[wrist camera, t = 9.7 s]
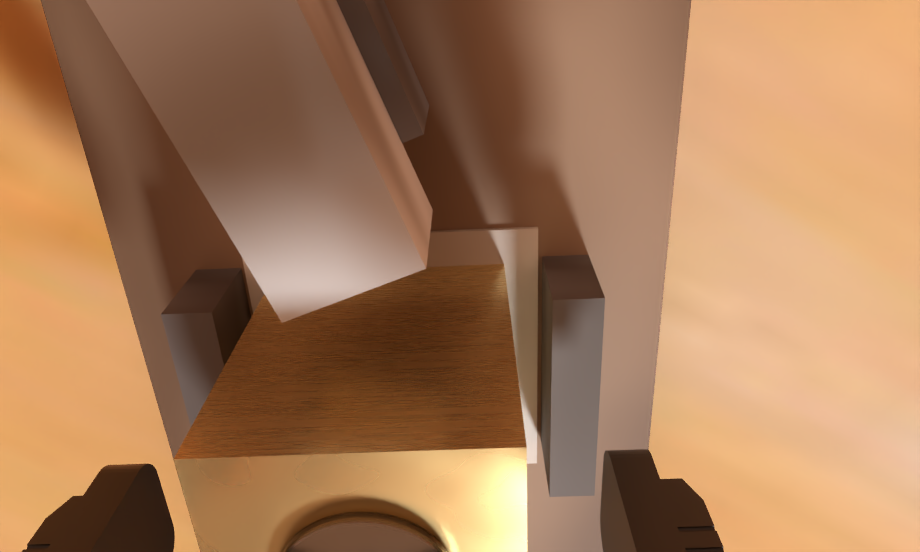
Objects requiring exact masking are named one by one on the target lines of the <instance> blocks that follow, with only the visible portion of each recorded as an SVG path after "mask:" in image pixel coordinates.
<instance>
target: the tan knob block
mask: <svg viewBox="0 0 920 552" xmlns="http://www.w3.org/2000/svg"><path fill="white" fill-rule="evenodd" d="M173 460H174V463H175V466H176V470H177V473H178V477H179V480H180V483H181V487H182V490H183V494H184V497H185V501H186V504H187V507H188V511H189V514H190V518H191V521H192V524H193V528H194V531H195V535H196V538H197V541H198V545H199V548H200V552H527V446H526V438H525V429H524V421H523V413H522V405H521V397H520V389H519V381H518V373H517V364H516V356H515V348H514V340H513V332H512V324H511V316H510V307H509V299H508V291H507V283H506V275H505V267H504V264H489V265H464V266H440V267H426V269H424V270H421V271H419V272H416V273H413V274H411V275H408V276H405V277H403V278H400V279H397V280H395V281H392V282H389V283H387V284H384V285H381V286H379V287H376V288H373V289H371V290H368V291H365V292H363V293H360V294H357V295H355V296H352V297H349V298H347V299H344V300H341V301H339V302H336V303H333V304H331V305H328V306H325V307H323V308H320V309H317V310H315V311H312V312H309V313H307V314H304V315H301V316H299V317H296V318H294V319H291V320H288V321H286V322H283V323H282V322H281V320H280V319H279V317H278V315H277V314H276V312H275V311H274V309H273V307H272V306H271V304H270V302H269V301H268V299H267V297H266V296H265V294H264V295H263V297H262V299H261V301H260V302H259V304H258V306H257V308H256V310H255V311H254V313H253V315H252V317H251V319H250V321H249V322H248V324H247V326H246V328H245V330H244V332H243V333H242V335H241V337H240V339H239V341H238V342H237V344H236V346H235V348H234V350H233V352H232V353H231V355H230V357H229V359H228V361H227V362H226V364H225V366H224V368H223V370H222V372H221V373H220V375H219V377H218V379H217V381H216V383H215V384H214V386H213V388H212V390H211V392H210V393H209V395H208V397H207V399H206V401H205V403H204V404H203V406H202V408H201V410H200V412H199V414H198V415H197V417H196V419H195V421H194V423H193V424H192V426H191V428H190V430H189V432H188V434H187V435H186V437H185V439H184V441H183V443H182V445H181V446H180V448H179V450H178V452H177V454H176V455H175V457H174V459H173Z"/></svg>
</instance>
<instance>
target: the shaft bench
mask: <svg viewBox="0 0 920 552" xmlns="http://www.w3.org/2000/svg"><path fill="white" fill-rule="evenodd" d="M41 2H42V6H43V9H44V13H45V16H46V20H47V23H48V27H49V30H50V34H51V37H52V40H53V44H54V47H55V51H56V54H57V58H58V61H59V65H60V68H61V72H62V75H63V78H64V82H65V85H66V89H67V92H68V96H69V99H70V103H71V106H72V110H73V113H74V116H75V120H76V123H77V127H78V130H79V134H80V137H81V141H82V144H83V148H84V151H85V154H86V158H87V161H88V165H89V168H90V172H91V175H92V179H93V182H94V185H95V189H96V192H97V196H98V199H99V203H100V206H101V210H102V213H103V217H104V220H105V223H106V227H107V230H108V234H109V237H110V241H111V244H112V248H113V251H114V255H115V258H116V261H117V265H118V268H119V272H120V275H121V279H122V282H123V286H124V289H125V293H126V296H127V299H128V303H129V306H130V310H131V313H132V317H133V320H134V324H135V327H136V331H137V334H138V337H139V341H140V344H141V348H142V351H143V355H144V358H145V362H146V365H147V369H148V372H149V375H150V379H151V382H152V386H153V389H154V393H155V396H156V400H157V403H158V407H159V410H160V413H161V417H162V420H163V424H164V427H165V431H166V434H167V438H168V441H169V445H170V448H171V451H172V455H173V458H174V457H175V455H176V454H177V452H178V450H179V448H180V446H181V445H182V443H183V441H184V439H185V437H186V435H187V434H188V432H189V430H190V428H191V426H192V424H193V423H194V421H195V419H196V417H197V415H198V414H199V412H200V410H201V408H202V406H203V404H204V403H205V401H206V399H207V397H208V395H209V393H210V392H211V390H212V388H213V386H214V384H215V383H216V381H217V379H218V377H219V375H220V373H221V372H222V370H223V368H224V366H225V364H226V362H227V361H228V359H229V357H230V355H231V353H232V352H233V350H234V348H235V346H236V344H237V342H238V341H239V339H240V337H241V335H242V333H243V332H244V330H245V328H246V326H247V324H248V322H249V321H250V319H251V317H252V315H253V313H254V311H255V310H256V308H257V306H258V304H259V302H260V301H261V299H262V297H263V295H264V294H265V296H266V297H267V299H268V301H269V302H270V304H271V306H272V307H273V309H274V311H275V312H276V314H277V315H278V317H279V319H280V320H281V322H282V323H283V322H286V321H288V320H291V319H294V318H296V317H299V316H301V315H304V314H307V313H309V312H312V311H315V310H317V309H320V308H323V307H325V306H328V305H331V304H333V303H336V302H339V301H341V300H344V299H347V298H349V297H352V296H355V295H357V294H360V293H363V292H365V291H368V290H371V289H373V288H376V287H379V286H381V285H384V284H387V283H389V282H392V281H395V280H397V279H400V278H403V277H405V276H408V275H411V274H413V273H416V272H419V271H421V270H424V269H426V267H440V266H464V265H489V264H504V267H505V275H506V283H507V291H508V299H509V307H510V316H511V324H512V332H513V340H514V348H515V356H516V364H517V373H518V381H519V389H520V397H521V405H522V413H523V421H524V429H525V438H526V446H527V552H603V547H602V540H601V529H600V508H601V491H602V474H603V459H604V453H605V451H606V450H636V449H648V447H649V436H650V426H651V415H652V405H653V394H654V384H655V373H656V363H657V353H658V342H659V332H660V321H661V311H662V300H663V290H664V279H665V269H666V258H667V248H668V238H669V227H670V217H671V206H672V196H673V185H674V175H675V164H676V154H677V143H678V133H679V123H680V112H681V102H682V91H683V81H684V70H685V60H686V49H687V39H688V29H689V18H690V8H691V0H41Z"/></svg>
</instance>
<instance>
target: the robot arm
mask: <svg viewBox="0 0 920 552" xmlns="http://www.w3.org/2000/svg"><path fill="white" fill-rule="evenodd" d="M600 529H601V540H602V547H603V552H724V551H723V545H722V543H721V541H720V538H719V536H718V533H717V531H715V529H714V524H713V522H712V519H711V517H710V515H709V512H708V510H707V508H706V505H705V503H704V500H703V499H702V498H701V497H700V496H699V495H698V494H697V493H696V492H695V491H694V490H693V489H692V488H691V487H690V486H689V485H688V484H687V483H686V482H685V481H684V480H683V479H660V478H659V475H658V472H657V469H656V467H655V464H654V461H653V458H652V456H651V453H650V452H649V450H648V449H636V450H606V451H605V453H604V459H603V474H602V491H601V508H600ZM174 538H175V536H174V527H173V523H172V520H171V516H170V513H169V510H168V507H167V503H166V500H165V497H164V493H163V490H162V487H161V483H160V480H159V477H158V474H157V471H156V469H155V467H154V466H153V465H151V464H128V465H107V466H105V467H104V468H102V469H101V470H100V472H99V473H98V475H97V476H96V478H95V479H94V480H93V482H92V483H91V485H90V486H89V488H88V489H87V491H86V492H85V494H84V495H83V496H73V497H71V498H70V499H69V500H68V501H67V502H65V503H64V504H63V505H62V506H61V507H59V508H58V509H57V510H56V511H54V512H53V513H52V514H51V515H50V516H48V517H47V518H46V519H45V520H44V522H43V523H42V525H41V526H40V527H39V529H38V530H37V532H36V533H35V534H34V536H33V537H32V539H31V540H30V541H29V543H28V544H27V549H26V550H23V551H22V552H173V549H174Z"/></svg>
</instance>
